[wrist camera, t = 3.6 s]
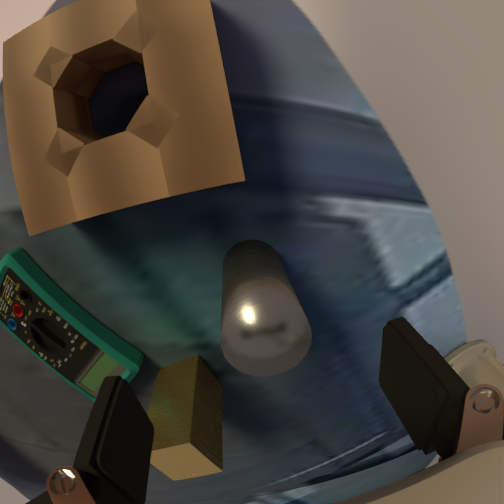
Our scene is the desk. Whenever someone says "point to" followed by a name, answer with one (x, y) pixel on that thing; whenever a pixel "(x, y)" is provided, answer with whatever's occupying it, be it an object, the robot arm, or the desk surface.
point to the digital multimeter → (60, 328)
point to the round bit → (261, 312)
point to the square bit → (186, 420)
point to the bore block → (142, 124)
